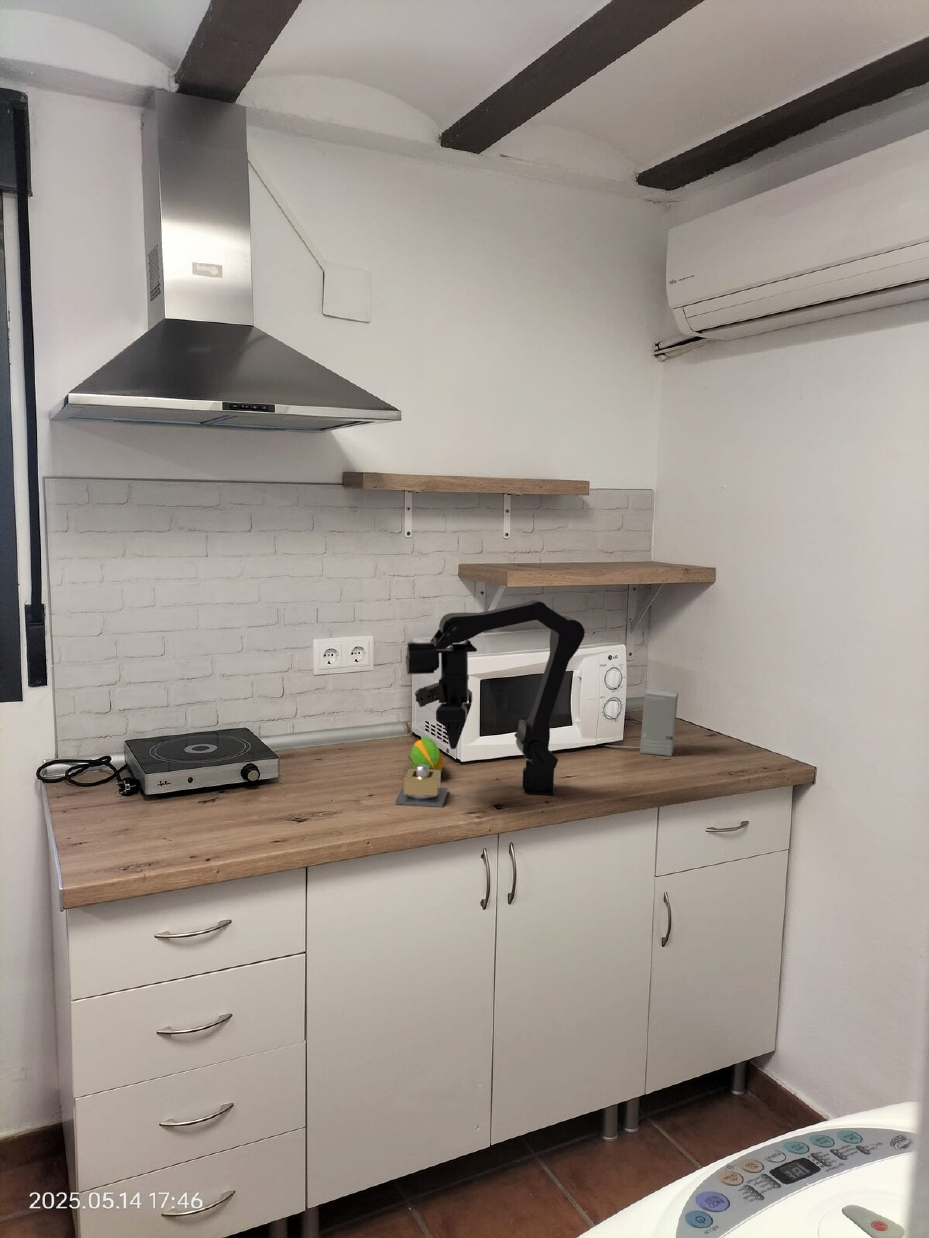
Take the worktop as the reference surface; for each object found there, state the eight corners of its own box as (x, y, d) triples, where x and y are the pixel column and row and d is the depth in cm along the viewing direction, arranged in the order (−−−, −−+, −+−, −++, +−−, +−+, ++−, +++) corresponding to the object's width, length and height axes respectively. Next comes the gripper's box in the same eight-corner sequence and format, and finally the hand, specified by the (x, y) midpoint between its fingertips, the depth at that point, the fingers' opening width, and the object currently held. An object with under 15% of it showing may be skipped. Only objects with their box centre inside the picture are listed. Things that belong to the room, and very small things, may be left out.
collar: (440, 785, 199) (440, 769, 199) (436, 795, 192) (436, 779, 192) (408, 783, 200) (408, 768, 199) (403, 794, 193) (404, 778, 192)
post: (448, 791, 201) (448, 760, 200) (442, 806, 191) (443, 774, 190) (403, 789, 202) (403, 758, 201) (395, 804, 192) (395, 772, 191)
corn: (418, 750, 205) (403, 727, 225) (415, 783, 206) (400, 757, 225) (450, 751, 207) (432, 728, 226) (447, 783, 208) (430, 758, 227)
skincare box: (639, 753, 233) (642, 693, 231) (642, 746, 240) (645, 687, 238) (673, 757, 231) (676, 695, 229) (675, 749, 238) (678, 690, 236)
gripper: (423, 663, 206) (424, 730, 208) (411, 681, 187) (412, 754, 189) (472, 664, 205) (472, 731, 207) (465, 681, 186) (465, 755, 189)
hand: (455, 742), depth 198 cm, fingers open, 9 cm apart
